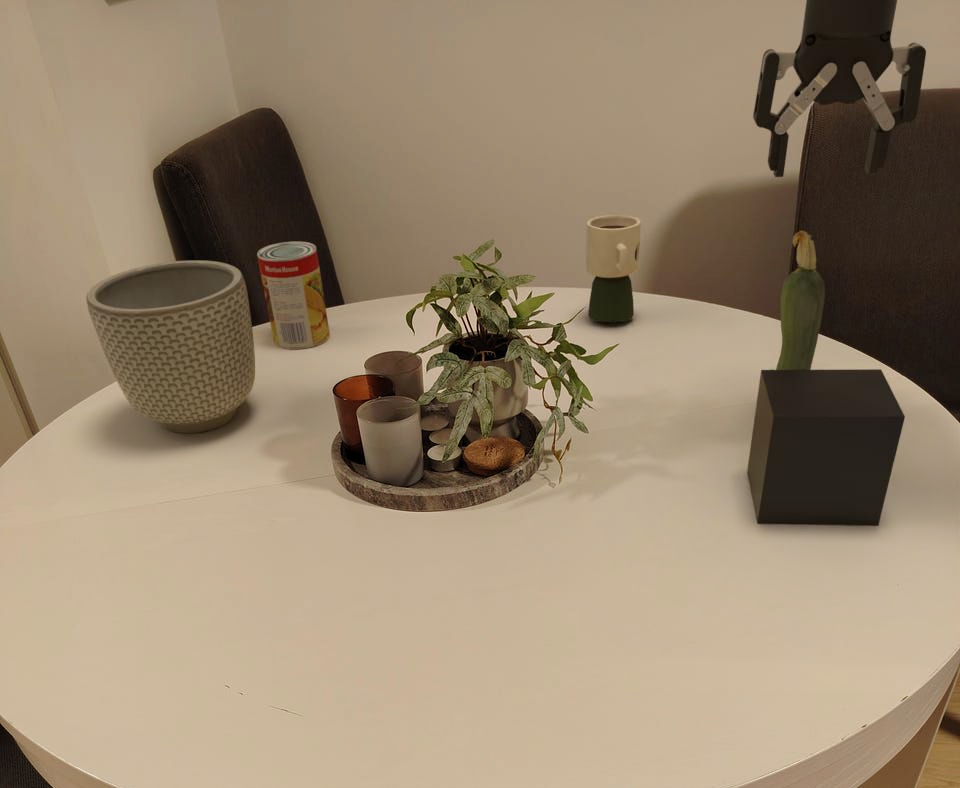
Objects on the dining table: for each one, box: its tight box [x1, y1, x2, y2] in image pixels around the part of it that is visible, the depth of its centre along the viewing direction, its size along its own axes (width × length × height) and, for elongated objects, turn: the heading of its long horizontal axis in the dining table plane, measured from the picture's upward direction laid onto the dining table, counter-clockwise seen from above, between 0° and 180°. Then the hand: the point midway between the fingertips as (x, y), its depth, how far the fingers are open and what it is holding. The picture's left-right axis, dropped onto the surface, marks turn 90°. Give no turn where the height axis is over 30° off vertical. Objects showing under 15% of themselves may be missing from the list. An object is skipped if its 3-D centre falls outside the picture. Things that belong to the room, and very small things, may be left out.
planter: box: [85, 259, 256, 434], centre depth 110 cm, size 17×17×16 cm
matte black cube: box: [746, 368, 906, 526], centre depth 90 cm, size 11×12×11 cm
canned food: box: [256, 240, 331, 350], centre depth 129 cm, size 8×8×12 cm
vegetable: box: [775, 230, 826, 370], centre depth 100 cm, size 4×4×20 cm
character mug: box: [585, 214, 642, 324], centre depth 128 cm, size 11×7×13 cm, turn 9°
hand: (824, 174), depth 91 cm, fingers open, 8 cm apart
